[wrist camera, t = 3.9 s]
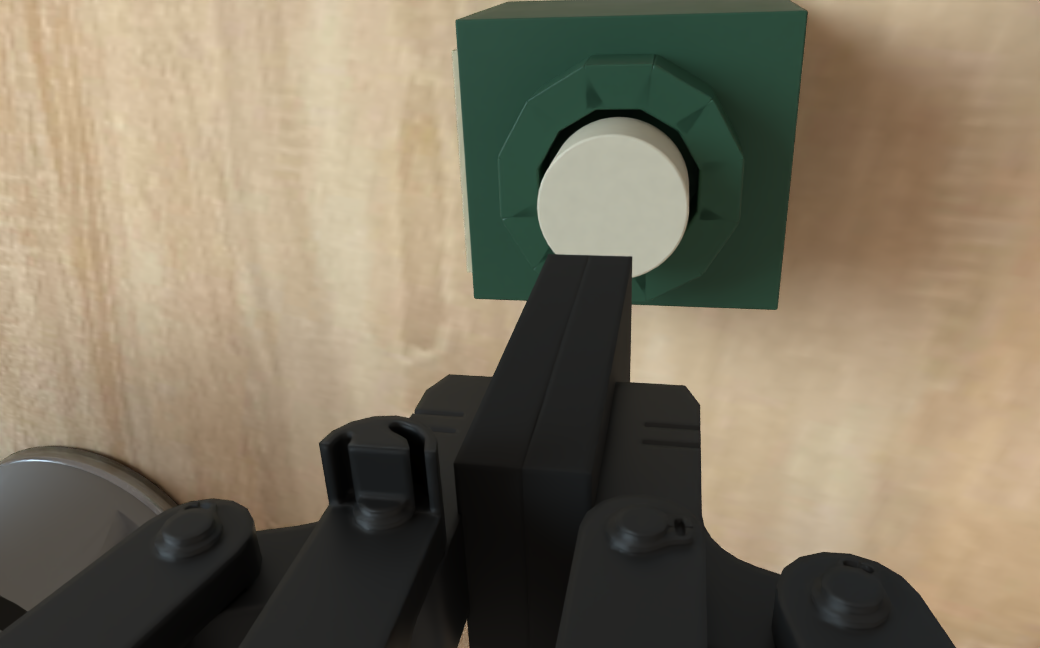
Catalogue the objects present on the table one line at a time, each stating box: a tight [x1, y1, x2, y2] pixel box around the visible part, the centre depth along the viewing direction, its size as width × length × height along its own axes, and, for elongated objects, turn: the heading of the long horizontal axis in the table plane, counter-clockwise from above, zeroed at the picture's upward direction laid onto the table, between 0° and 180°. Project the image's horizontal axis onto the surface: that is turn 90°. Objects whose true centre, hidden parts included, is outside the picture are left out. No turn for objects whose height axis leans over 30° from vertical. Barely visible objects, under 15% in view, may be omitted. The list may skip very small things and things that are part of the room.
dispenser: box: [456, 0, 808, 310], centre depth 28 cm, size 10×9×10 cm
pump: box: [537, 117, 689, 278], centre depth 23 cm, size 4×4×2 cm
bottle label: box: [452, 49, 472, 272], centre depth 29 cm, size 1×7×5 cm, turn 3°
